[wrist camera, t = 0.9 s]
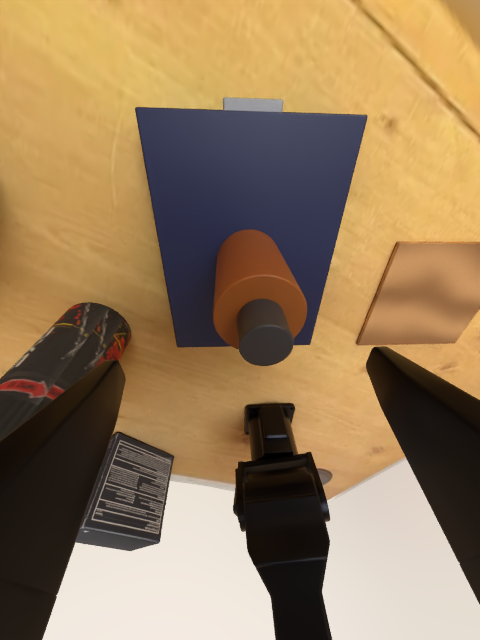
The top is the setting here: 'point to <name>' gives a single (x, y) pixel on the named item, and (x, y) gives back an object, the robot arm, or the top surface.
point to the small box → (127, 496)
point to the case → (245, 196)
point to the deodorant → (60, 361)
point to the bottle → (256, 298)
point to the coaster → (425, 294)
